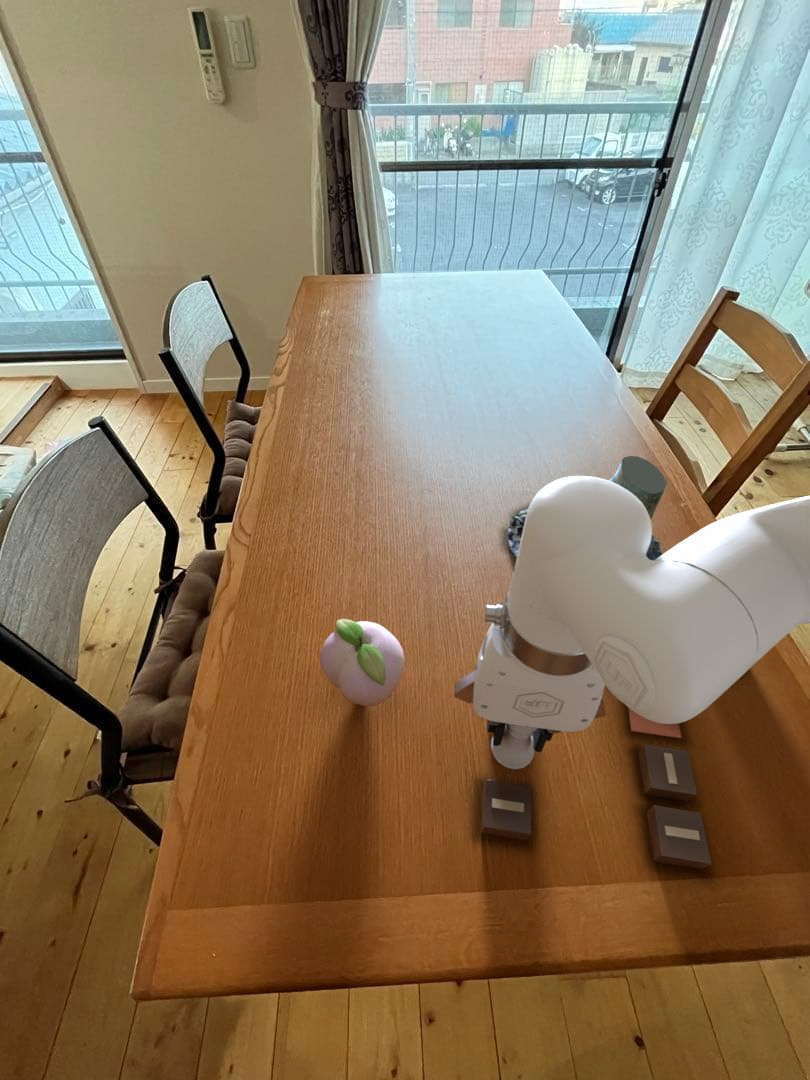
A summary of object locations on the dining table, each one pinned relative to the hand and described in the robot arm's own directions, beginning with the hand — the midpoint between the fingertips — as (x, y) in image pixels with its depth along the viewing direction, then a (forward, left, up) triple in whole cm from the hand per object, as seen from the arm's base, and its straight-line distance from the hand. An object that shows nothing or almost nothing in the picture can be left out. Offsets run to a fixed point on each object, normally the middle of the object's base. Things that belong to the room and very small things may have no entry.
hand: (517, 733), depth 55 cm
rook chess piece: (0, 0, -4) cm, 4 cm away
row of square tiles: (0, -16, -5) cm, 16 cm away
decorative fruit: (+5, +16, -5) cm, 18 cm away
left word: (0, 0, -5) cm, 5 cm away
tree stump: (+31, -10, -5) cm, 33 cm away
